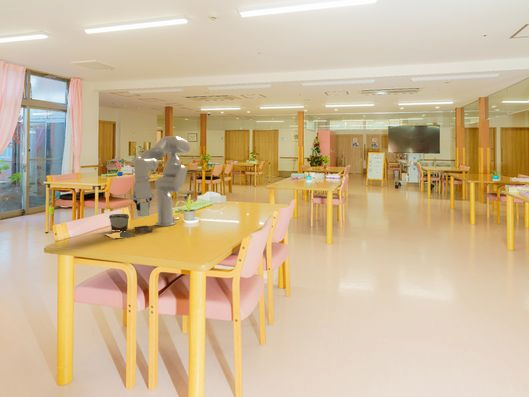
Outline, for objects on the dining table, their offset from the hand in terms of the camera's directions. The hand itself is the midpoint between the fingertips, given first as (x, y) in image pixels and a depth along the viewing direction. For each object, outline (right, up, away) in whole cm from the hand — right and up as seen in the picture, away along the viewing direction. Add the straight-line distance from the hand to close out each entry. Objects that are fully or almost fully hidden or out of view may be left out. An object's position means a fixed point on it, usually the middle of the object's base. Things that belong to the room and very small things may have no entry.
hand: (143, 209), depth 235 cm
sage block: (0, -4, 0) cm, 4 cm away
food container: (-15, -13, +6) cm, 21 cm away
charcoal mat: (-11, -15, -9) cm, 21 cm away
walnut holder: (0, -14, +1) cm, 14 cm away
